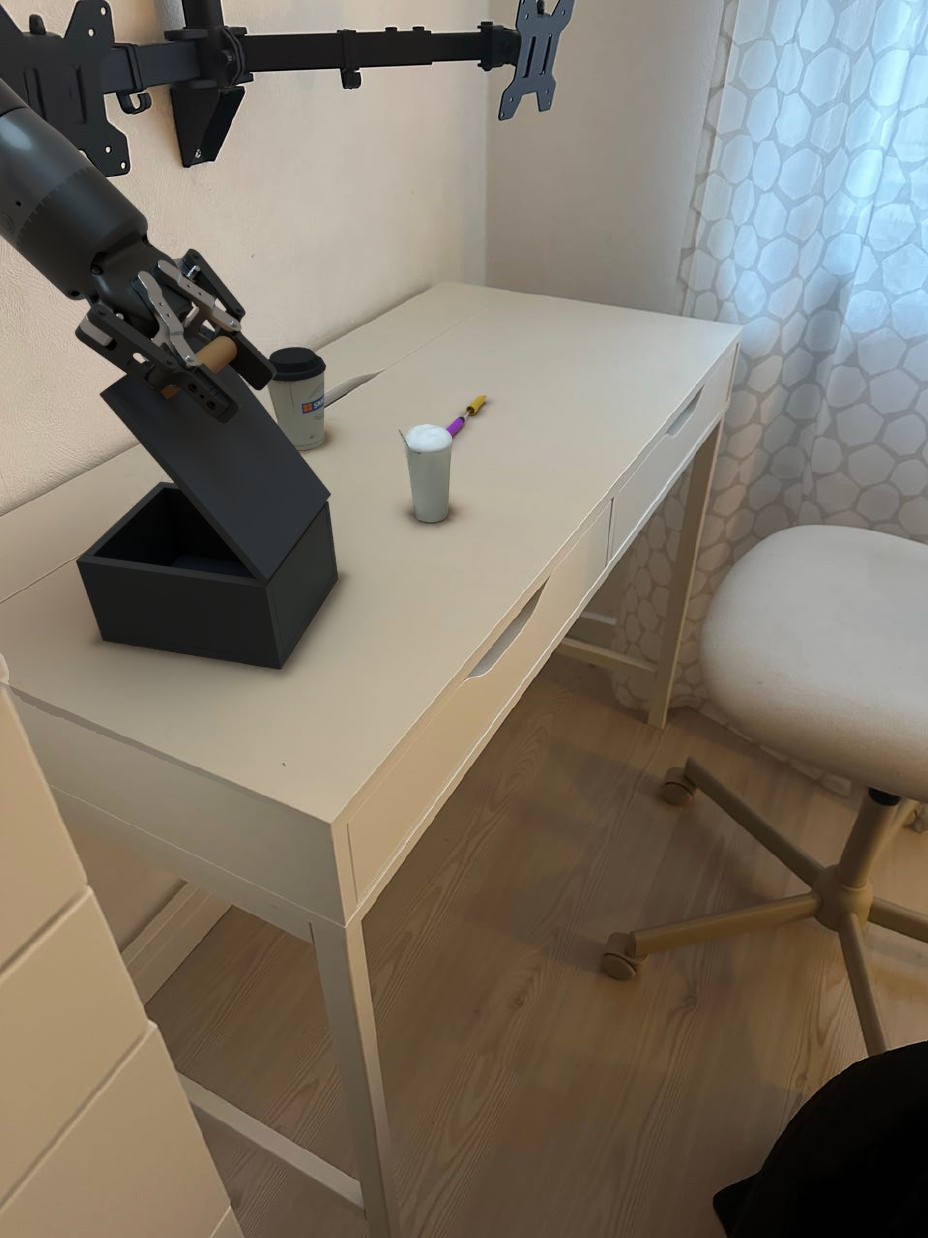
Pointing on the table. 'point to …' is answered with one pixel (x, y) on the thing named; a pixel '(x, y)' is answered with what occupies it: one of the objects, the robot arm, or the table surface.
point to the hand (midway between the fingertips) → (251, 396)
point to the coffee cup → (299, 395)
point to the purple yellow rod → (470, 410)
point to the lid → (226, 460)
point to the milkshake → (429, 470)
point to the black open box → (202, 584)
